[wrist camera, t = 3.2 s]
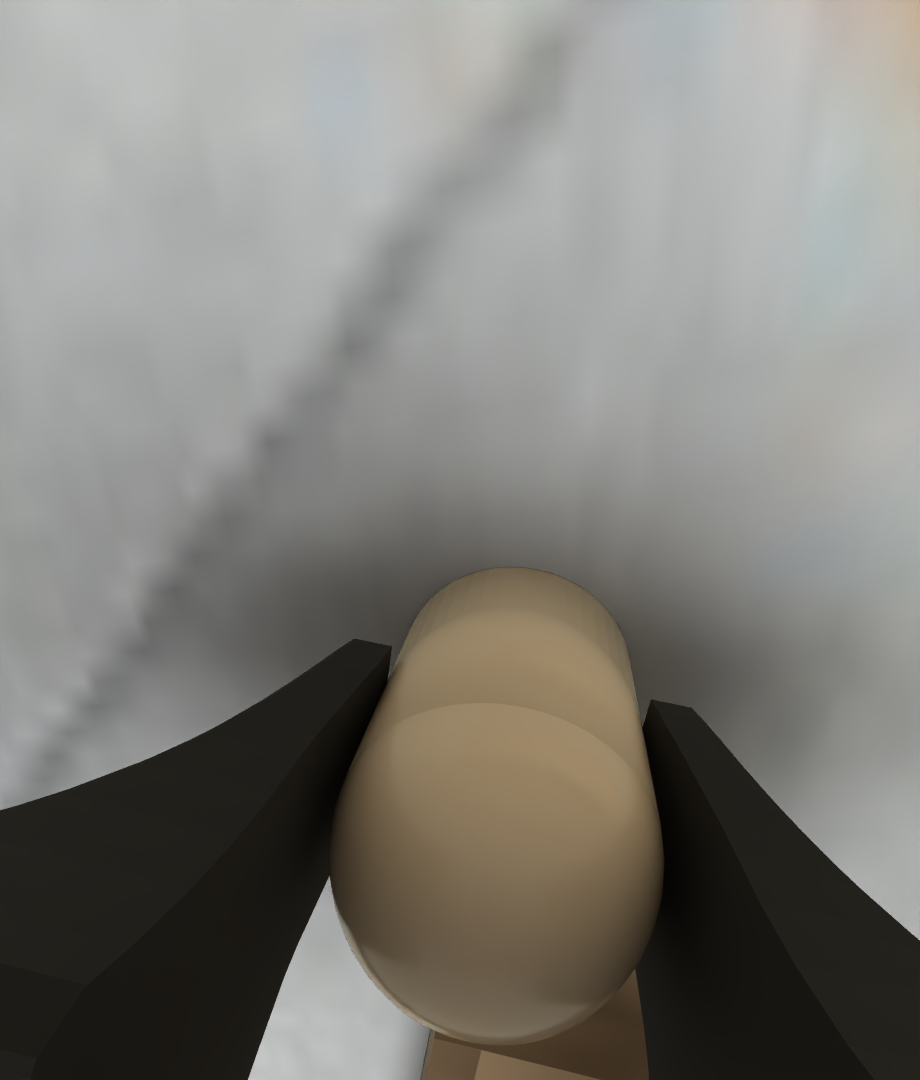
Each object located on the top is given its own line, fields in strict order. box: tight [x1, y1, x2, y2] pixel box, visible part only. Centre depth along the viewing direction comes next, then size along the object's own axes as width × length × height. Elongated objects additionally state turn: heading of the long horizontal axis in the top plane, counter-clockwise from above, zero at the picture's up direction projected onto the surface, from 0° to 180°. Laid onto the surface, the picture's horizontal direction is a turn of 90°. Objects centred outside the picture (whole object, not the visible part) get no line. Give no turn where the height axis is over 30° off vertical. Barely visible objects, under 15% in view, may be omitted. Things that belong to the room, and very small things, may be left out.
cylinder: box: [329, 567, 665, 1045], centre depth 9 cm, size 4×4×6 cm
